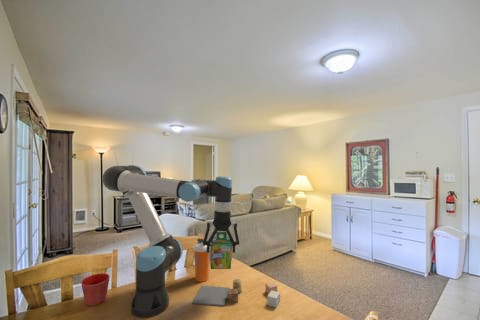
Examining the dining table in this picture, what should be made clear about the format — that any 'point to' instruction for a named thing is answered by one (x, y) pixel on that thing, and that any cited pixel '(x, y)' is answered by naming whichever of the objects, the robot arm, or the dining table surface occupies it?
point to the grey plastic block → (274, 298)
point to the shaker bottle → (201, 261)
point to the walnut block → (232, 295)
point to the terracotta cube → (271, 287)
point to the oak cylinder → (237, 285)
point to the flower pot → (95, 288)
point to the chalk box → (221, 252)
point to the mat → (211, 296)
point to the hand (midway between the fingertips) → (220, 259)
